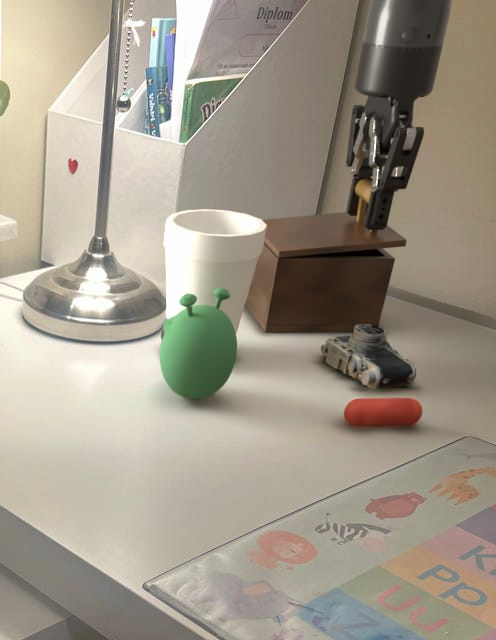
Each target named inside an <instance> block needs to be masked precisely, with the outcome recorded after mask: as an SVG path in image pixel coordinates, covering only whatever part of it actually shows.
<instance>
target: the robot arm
mask: <svg viewBox="0 0 496 640" xmlns="http://www.w3.org/2000/svg"><path fill="white" fill-rule="evenodd" d="M452 2H453V0H371V1H370V5H369V8H368V13H367V17H366V22H365V28H364V34H363V39H362V43H361V49H360V54H359V60H358V65H357V70H356V76H355V81H354V90H355V92H357V93H358V94H360V95H363V96H367V99H366V102H365V103H364V104H363V103H362V104H353V106H352V109H351V117H350V125H349V133H348V134H349V135H348V144H347V151H346V159H345V164H346V167H348V168H350V171H349V173H350V177H351V178H352V179H351V184H350V190H349V195H348V201H347V205H346V211H345V212H347V213H348V214H349V215H350V216H357V211H358V204H359V196H358V195H357V194H356V192H355V187H356V185H357V183H358V182H359V181H360V180H362V179H368V180H370V181H371V182H372V191H371V194H370V199H369V204H368V203H367V207H366V214H365V215H366V218H365V223H364V226H365V227H366V228H367V229H368V230H383V229H385V228H386V226H387V225H388V223H389V222H388V221H389V218H390V213H391V209H392V204H393V199H394V195H395V193H397V192H399V190H406V189H407V187H408V185H409V181H410V179H411V175H412V173H413V169H414V166H415V163H416V160H417V158H418V154H419V151H420V148H421V145H422V142H423V139H424V135H425V128H424V127H423V126H413V120H414V107H415V101H417V99H419V98H424V97H427V96H429V95H430V94H431V93H432V92H433V90H434V87H435V81H436V77H437V74H438V69H439V68H438V67H439V64H440V60H441V56H442V51H443V47H444V42H445V38H446V34H447V33H446V32H447V30H448V25H449V21H450V15H451V11H452V5H453V4H452Z"/></svg>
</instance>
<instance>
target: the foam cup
mask: <svg viewBox="0 0 496 640" xmlns="http://www.w3.org/2000/svg"><path fill="white" fill-rule="evenodd" d="M262 220H263V219H262V218H259V217H256V216H254V215H251V214H248V213H243V212H238V211H232V210H228V209H227V210H225V209H209V208H203V209H185V210H181V211H178V212H174V213H171V214H170V215H169V216H168V217H167V218H166V219H165V229H164V238H163V247H165V286H166V287H165V288H166V292H165V293H166V319H169V318H171V317H173V316H175V315H177V314H178V313H179V312H180V311H182V310H183V309H185V308H186V307H184V306H182V305H180V303H179V300H180V298H181V297H182V296H183V295H185V294H193V295H195V296H196V297H197V301H196V303H195V304H193V305H192V306H194V305H208V306H213V307H214V306H215V303H216V300H217V298H216V296H215V295H214V292H213V291H214V290H215V289H218V288H223V289H226V290H227V291H228V292H229V294H230V298H228V299H226V300H222V302H221V304H220V307H219V310H221V311H223V312H224V313H225V314H226V315H227V316H228V318H229V319H230V320H231V322H232V324H233V327H234V330H235V333H236V334H237V333H238V330H239V326H240V323H241V320H242V317H243V314H244V313H243V312H244V309H245V307H246V305H245V302H246V299H247V296H248V292H249V289H250V285H251V282H252V279H253V275H254V272H255V268H256V265H257V261H258V258H259V256H260V254H261V253H262V251H263V246H264V240H265V234H266V228H267V225H266V224H265V223H264V222H263V221H262Z"/></svg>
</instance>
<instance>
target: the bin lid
mask: <svg viewBox="0 0 496 640" xmlns="http://www.w3.org/2000/svg"><path fill="white" fill-rule="evenodd" d="M371 191H372V182H371V181H370V180H368V179H362V180H360V181H359V182H358V183H357V185H356V187H355V192H356V194H357V195H358V196H359V204H358V211H357V216H350V215H349V214H348V213H347V211H344V212H331V213H322V214H311V215H310V214H309V215H301V216H300V215H299V216H287V217H279V218H267V219H266V218H265V219H261V220H262V221H263V222H264V223H265V224H266V225H267V228H266V234H265V240H264V242H265V244H266V245H267V246H268V247H269V248H270V249H271V250H272V251H273V252H274V253H275V254H276V256H277V257H278V258H283V257H294V256H305V255H316V254H327V253H338V252H349V251H360V250H371V249H382V248H383V249H391V248H402V247H403V248H404V247H407V241H408V240H407V239H406V238H405V237H404V236H402V235H401V234H399V232H397V231H396V230H394V229H393V228H392V227H390V226H389V225H388V224H387V226H386V228H385V229H383V230H368V229H367V228H366V227H365V226H364V223H365V218H366V215H365V214H366V207H367V203H368V204H369V199H370V194H371Z"/></svg>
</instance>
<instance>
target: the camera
mask: <svg viewBox="0 0 496 640" xmlns="http://www.w3.org/2000/svg"><path fill="white" fill-rule="evenodd" d="M324 343H325V344H322V345H321V346H320V351H321V354H325V355H326V359H325V364H327V366H329V367H331V368H333V369H334V370H339V371H341V372H342V373H343V374H344V375H347V376H350V377H352V378H353V379H356V380H358V381H360V382H361V384H362V385H363V386H367V387H368V388H370V389H372V390H376V389H387V388H396V387H403V386H404V387H405V386H411V385H413V384H414V382H415V379H416V378H417V369H416V367H415V365H414V363H413V362H411V361H409V359H408V358H405V357H403V356H401V354H400V353H398V351H397V350H396V349H394V348H393V347H392V345H390V342H389V341H388V339H387V333H386V330H385V329H384V328H383V327H380V326H378V327H376V326H372V325H370V324H360V325H356V326H355V327H354V331H353V332H352V333H351V334H349V335H338V336H331V337H328V338H327V340H325V342H324Z"/></svg>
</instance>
